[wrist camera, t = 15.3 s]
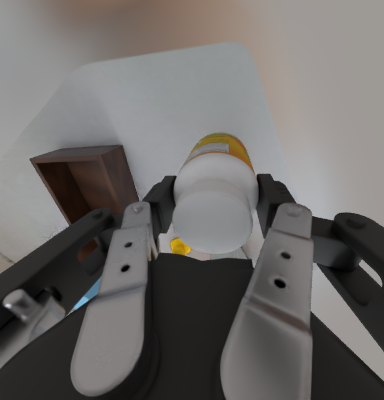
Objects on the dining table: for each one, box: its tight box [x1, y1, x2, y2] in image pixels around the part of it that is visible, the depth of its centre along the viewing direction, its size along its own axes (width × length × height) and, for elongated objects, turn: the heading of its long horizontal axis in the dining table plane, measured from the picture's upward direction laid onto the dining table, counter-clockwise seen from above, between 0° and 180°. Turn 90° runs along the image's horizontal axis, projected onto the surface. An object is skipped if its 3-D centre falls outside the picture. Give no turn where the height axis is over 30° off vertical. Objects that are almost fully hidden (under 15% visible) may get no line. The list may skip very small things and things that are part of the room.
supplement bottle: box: [172, 133, 259, 254], centre depth 12 cm, size 5×5×10 cm
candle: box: [170, 238, 191, 256], centre depth 35 cm, size 5×5×16 cm
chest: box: [30, 145, 139, 226], centre depth 34 cm, size 18×14×6 cm
